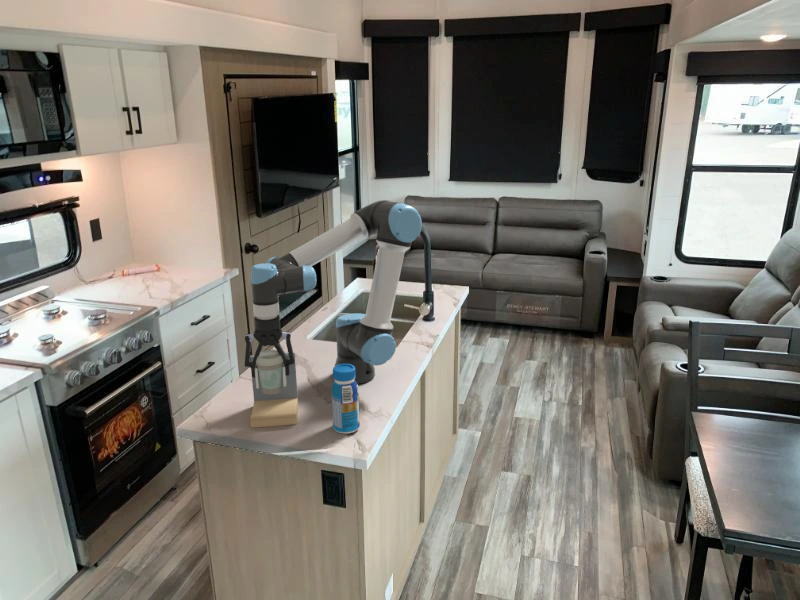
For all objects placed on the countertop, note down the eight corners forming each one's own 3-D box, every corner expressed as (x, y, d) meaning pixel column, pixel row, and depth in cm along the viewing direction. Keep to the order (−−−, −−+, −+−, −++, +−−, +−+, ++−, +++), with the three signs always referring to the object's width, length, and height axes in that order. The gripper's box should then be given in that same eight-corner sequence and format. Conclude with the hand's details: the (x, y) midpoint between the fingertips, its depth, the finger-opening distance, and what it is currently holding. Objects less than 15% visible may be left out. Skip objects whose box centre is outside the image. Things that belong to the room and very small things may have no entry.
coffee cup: (253, 395, 180) (250, 358, 176) (264, 383, 188) (262, 348, 184) (279, 397, 178) (277, 361, 175) (290, 385, 186) (287, 350, 183)
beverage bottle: (327, 431, 179) (324, 370, 173) (341, 418, 186) (338, 360, 180) (352, 437, 175) (349, 375, 169) (364, 424, 183) (363, 364, 177)
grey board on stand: (298, 402, 197) (294, 352, 191) (297, 424, 183) (293, 371, 177) (255, 405, 195) (250, 355, 189) (250, 428, 181) (245, 374, 175)
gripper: (301, 310, 181) (304, 378, 187) (233, 313, 178) (239, 382, 185) (301, 318, 174) (304, 388, 180) (229, 321, 171) (236, 393, 178)
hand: (271, 385), depth 182 cm, fingers closed on coffee cup, 7 cm apart
